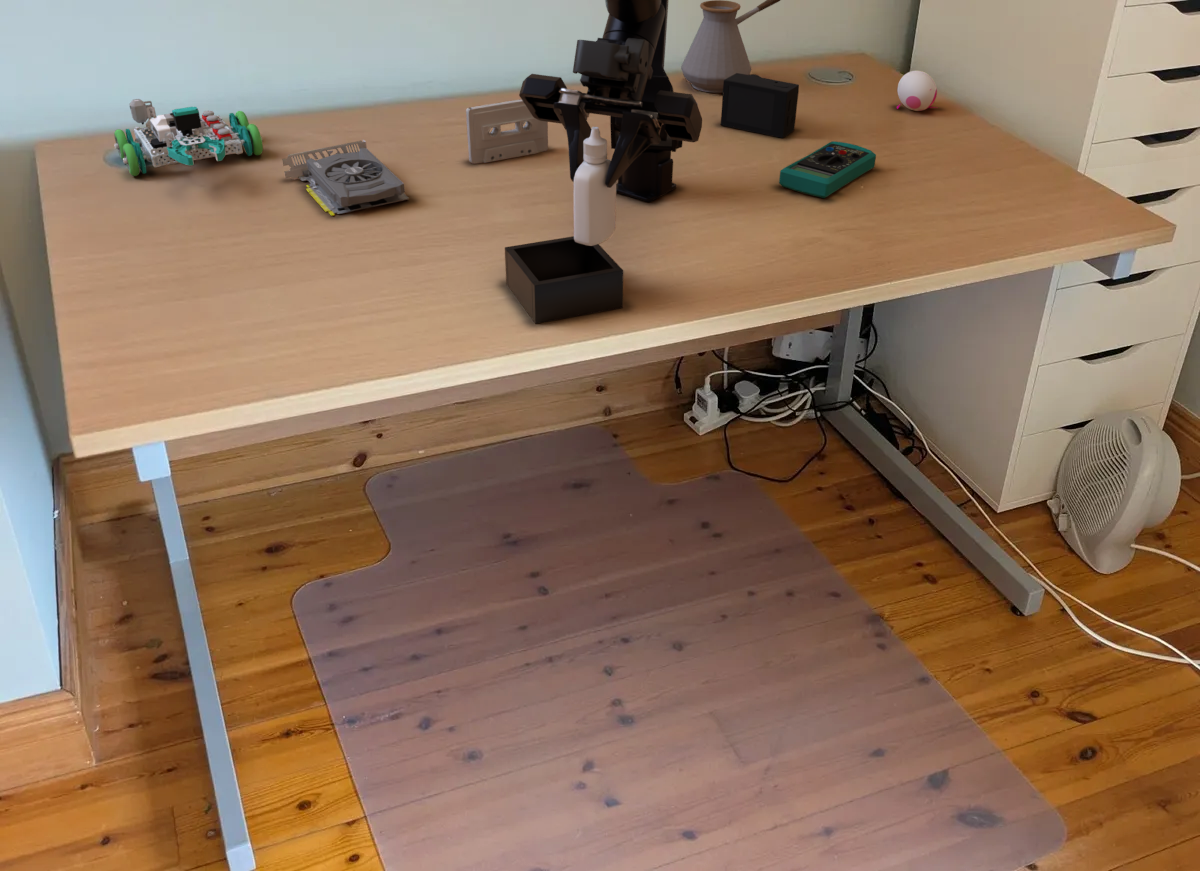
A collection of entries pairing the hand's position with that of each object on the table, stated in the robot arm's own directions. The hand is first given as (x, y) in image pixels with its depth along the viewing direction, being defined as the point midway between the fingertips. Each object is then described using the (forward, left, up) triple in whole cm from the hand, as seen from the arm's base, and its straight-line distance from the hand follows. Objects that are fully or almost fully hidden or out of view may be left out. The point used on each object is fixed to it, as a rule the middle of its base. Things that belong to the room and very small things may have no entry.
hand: (590, 183), depth 117 cm
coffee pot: (-29, +77, -13) cm, 83 cm away
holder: (-3, -1, -13) cm, 14 cm away
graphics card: (-44, +4, -13) cm, 46 cm away
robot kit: (-66, -3, -13) cm, 67 cm away
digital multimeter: (+3, +48, -13) cm, 50 cm away
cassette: (-36, +27, -13) cm, 46 cm away
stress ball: (0, +83, -13) cm, 84 cm away
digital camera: (-15, +60, -13) cm, 63 cm away
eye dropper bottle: (0, +1, -7) cm, 7 cm away
